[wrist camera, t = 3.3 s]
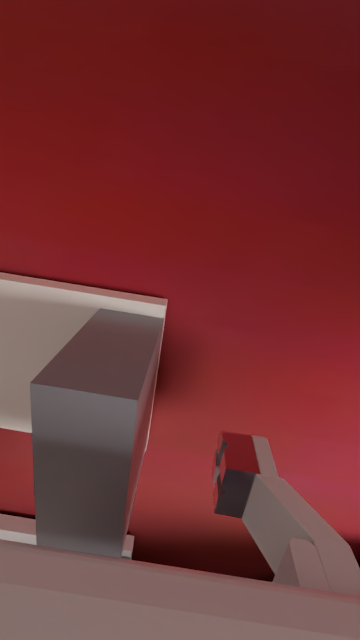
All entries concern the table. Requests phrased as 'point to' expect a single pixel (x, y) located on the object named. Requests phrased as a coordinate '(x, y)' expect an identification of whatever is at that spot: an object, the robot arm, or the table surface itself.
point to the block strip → (80, 402)
